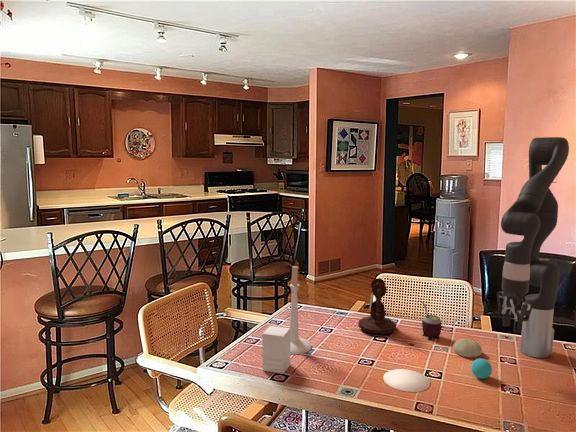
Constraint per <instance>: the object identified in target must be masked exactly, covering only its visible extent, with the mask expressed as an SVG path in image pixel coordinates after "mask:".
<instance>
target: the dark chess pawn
mask: <svg viewBox="0 0 576 432" xmlns="http://www.w3.org/2000/svg"><path fill="white" fill-rule="evenodd" d="M370 287H371V294H370V300H369V301H370V302H369V316H365V317H364V316H363V317H362V318H360V319H359V320H358V324H357V326H358V327H359V328H360V329H362V330H363V334H367V332H368V333H374V334H388V335H389V336H391V335H392V333H393V332H394V331H396V330H397V324H396V322H395V321H394V320H392V319H391V318H388V317H386V313H387V312H386V310H385V304H384V303H383V302H382V299H383V297H385V296H386V294H387V287H386V282H385V280H384V279H382V278H379V277H378V278H374V279H373V280H371V284H370ZM374 297H375V300H374V301H373V298H374Z"/></svg>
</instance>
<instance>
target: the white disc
mask: <svg viewBox="0 0 576 432" xmlns="http://www.w3.org/2000/svg"><path fill="white" fill-rule="evenodd" d="M383 381H384V383H385V384H386V385H387V386H389V387H390V388H392V389H394V390H397V391H400V392H407V393H418V392H423V391H425V390H428V389H429V388H430V386H431V381H430V379H429V378H428V377H427V376H425V375H424V374H422V373H420V372H418V371H414V370H411V369H405V368H401V369H400V368H397V369H391V370H389V371H387V372H385V373H384V374H383Z"/></svg>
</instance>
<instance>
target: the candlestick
mask: <svg viewBox="0 0 576 432" xmlns="http://www.w3.org/2000/svg"><path fill="white" fill-rule="evenodd" d="M298 269H299V267H298V266H297V265H293V266H292V267H291V283H290V284H289V287H290V290H291V302H290V304H291V305H290V314H289V315H290V316H289V328H290V355H302V354H306V353H308V352H310V351H311V350H312V343H311V342H310V341H309V340H307V339H305V338H304V337H300V336H299V334H300V333H299V308H298V291H299V287H300V284H298V282H299V281H298V280H299V279H298V277H299V276H298V275H299V273H298V271H299V270H298Z"/></svg>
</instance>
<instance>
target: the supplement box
mask: <svg viewBox="0 0 576 432" xmlns="http://www.w3.org/2000/svg"><path fill="white" fill-rule="evenodd" d="M290 366H291V354H290V327H282V326H275V325H269V326H268V327H267V328H266V329H265V331H263V332H262V371H264V372H269V373H276V374H282V375H284V374H285V372H286V371H287V370H288V368H289V367H290Z"/></svg>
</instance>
